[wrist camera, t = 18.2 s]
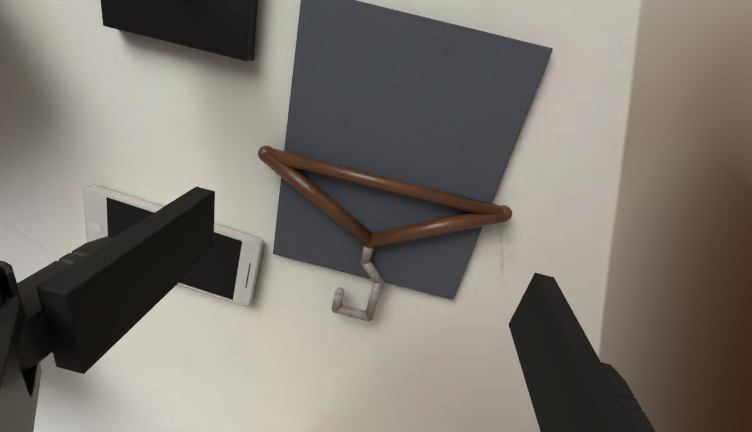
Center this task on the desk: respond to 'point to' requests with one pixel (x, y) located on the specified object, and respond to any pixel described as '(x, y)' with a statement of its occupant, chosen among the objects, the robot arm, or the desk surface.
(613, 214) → the desk surface
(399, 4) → the desk surface
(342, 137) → the felt mat
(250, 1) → the rail stand
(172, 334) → the desk surface
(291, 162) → the hanger
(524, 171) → the desk surface
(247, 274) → the smartphone
